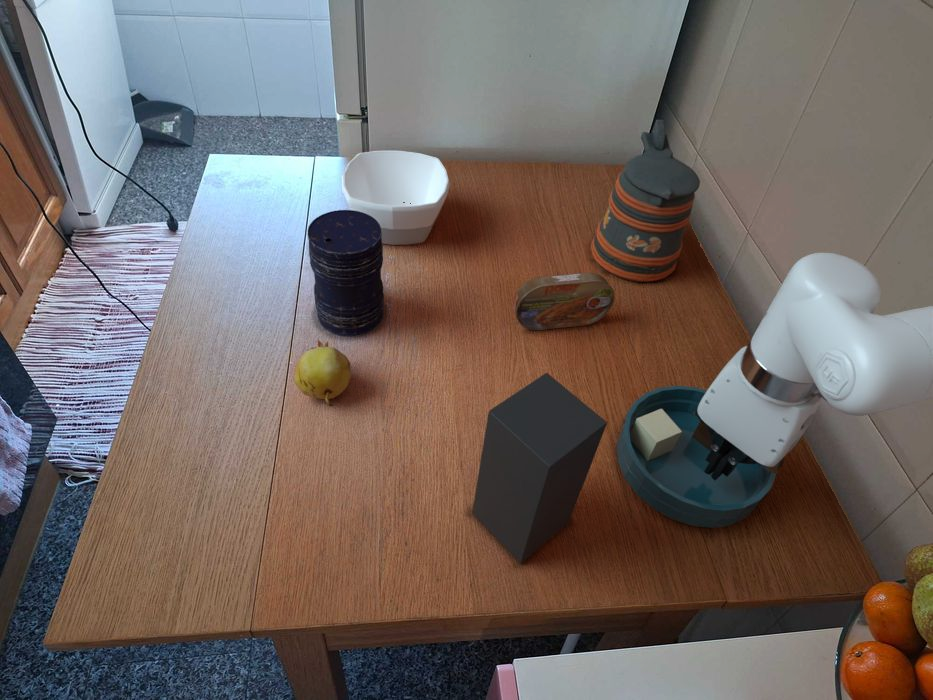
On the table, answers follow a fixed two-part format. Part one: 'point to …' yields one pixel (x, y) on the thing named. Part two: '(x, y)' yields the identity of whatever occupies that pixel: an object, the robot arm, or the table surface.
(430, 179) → the bowl
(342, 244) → the storage jar
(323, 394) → the fruit
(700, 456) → the bowl
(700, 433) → the walnut block
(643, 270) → the beer stein
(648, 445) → the cream block
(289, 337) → the table surface
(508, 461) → the stand
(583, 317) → the tin
